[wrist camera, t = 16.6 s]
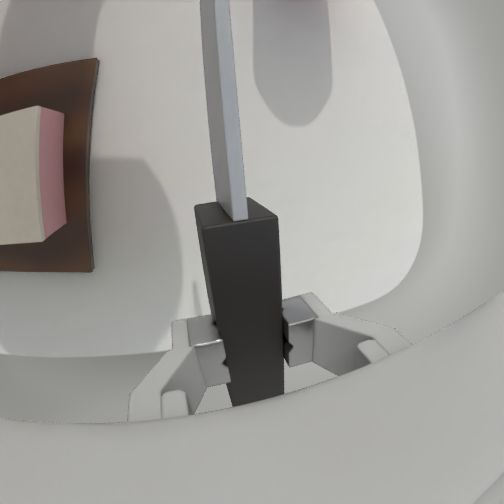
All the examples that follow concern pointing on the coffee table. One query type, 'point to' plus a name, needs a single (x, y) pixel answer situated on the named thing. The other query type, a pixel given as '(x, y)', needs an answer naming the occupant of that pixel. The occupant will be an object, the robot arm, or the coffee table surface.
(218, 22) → the knife
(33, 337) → the coffee table surface
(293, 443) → the robot arm
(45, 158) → the cake slice
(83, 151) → the cake
